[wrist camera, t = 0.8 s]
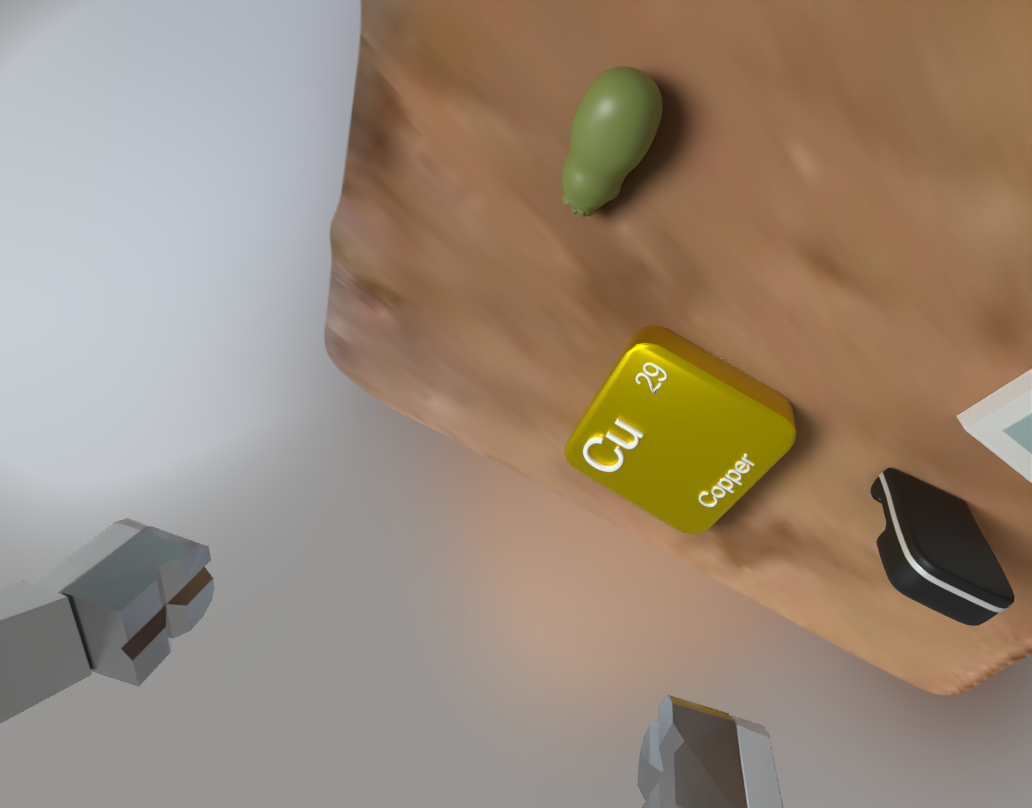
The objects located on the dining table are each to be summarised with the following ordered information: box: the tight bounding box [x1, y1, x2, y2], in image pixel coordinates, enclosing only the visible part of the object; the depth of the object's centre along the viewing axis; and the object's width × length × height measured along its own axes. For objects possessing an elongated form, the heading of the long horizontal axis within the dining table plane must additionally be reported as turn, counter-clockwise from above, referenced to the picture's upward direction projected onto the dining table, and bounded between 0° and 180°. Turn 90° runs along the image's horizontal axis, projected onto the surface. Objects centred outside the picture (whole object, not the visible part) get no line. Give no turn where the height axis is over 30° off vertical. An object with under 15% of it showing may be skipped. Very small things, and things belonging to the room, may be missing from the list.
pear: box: [562, 67, 663, 217], centre depth 39 cm, size 6×5×10 cm
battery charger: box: [871, 468, 1014, 626], centre depth 41 cm, size 7×4×11 cm, turn 71°
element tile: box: [565, 325, 796, 534], centre depth 48 cm, size 15×15×5 cm
